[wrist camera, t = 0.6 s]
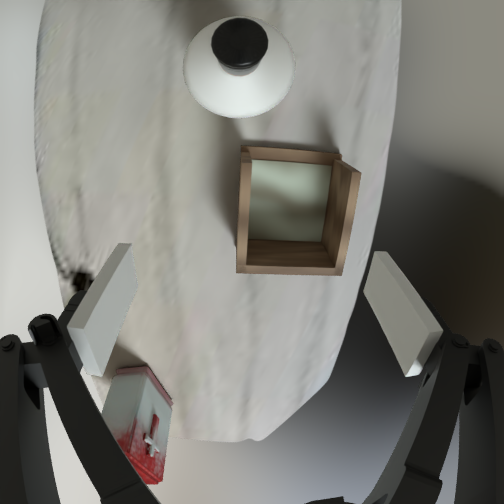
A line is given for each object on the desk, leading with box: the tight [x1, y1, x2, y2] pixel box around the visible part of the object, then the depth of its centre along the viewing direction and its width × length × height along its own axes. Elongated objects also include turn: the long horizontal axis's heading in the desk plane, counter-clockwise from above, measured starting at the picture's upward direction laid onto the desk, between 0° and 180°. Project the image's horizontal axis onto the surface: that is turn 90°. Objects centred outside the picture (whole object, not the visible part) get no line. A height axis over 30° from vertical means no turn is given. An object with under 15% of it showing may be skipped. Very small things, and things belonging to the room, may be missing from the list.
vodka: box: [183, 16, 296, 118], centre depth 25 cm, size 9×9×30 cm
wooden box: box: [236, 145, 361, 276], centre depth 42 cm, size 16×14×9 cm
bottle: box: [101, 366, 173, 484], centre depth 51 cm, size 14×10×30 cm
